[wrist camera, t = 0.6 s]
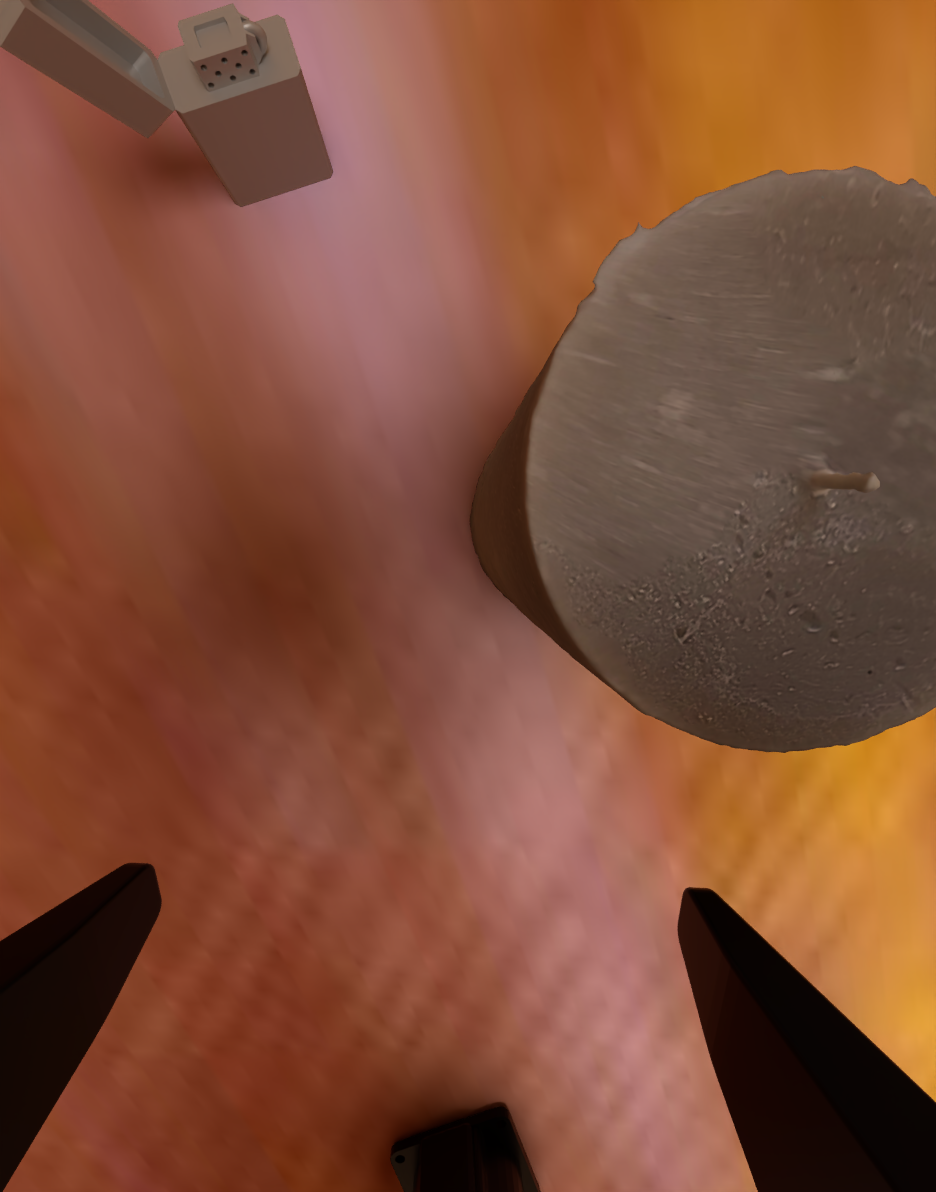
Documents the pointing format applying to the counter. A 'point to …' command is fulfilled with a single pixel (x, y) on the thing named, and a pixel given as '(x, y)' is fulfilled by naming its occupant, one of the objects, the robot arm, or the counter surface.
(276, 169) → the lighter
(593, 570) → the pillar candle
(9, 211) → the counter surface
